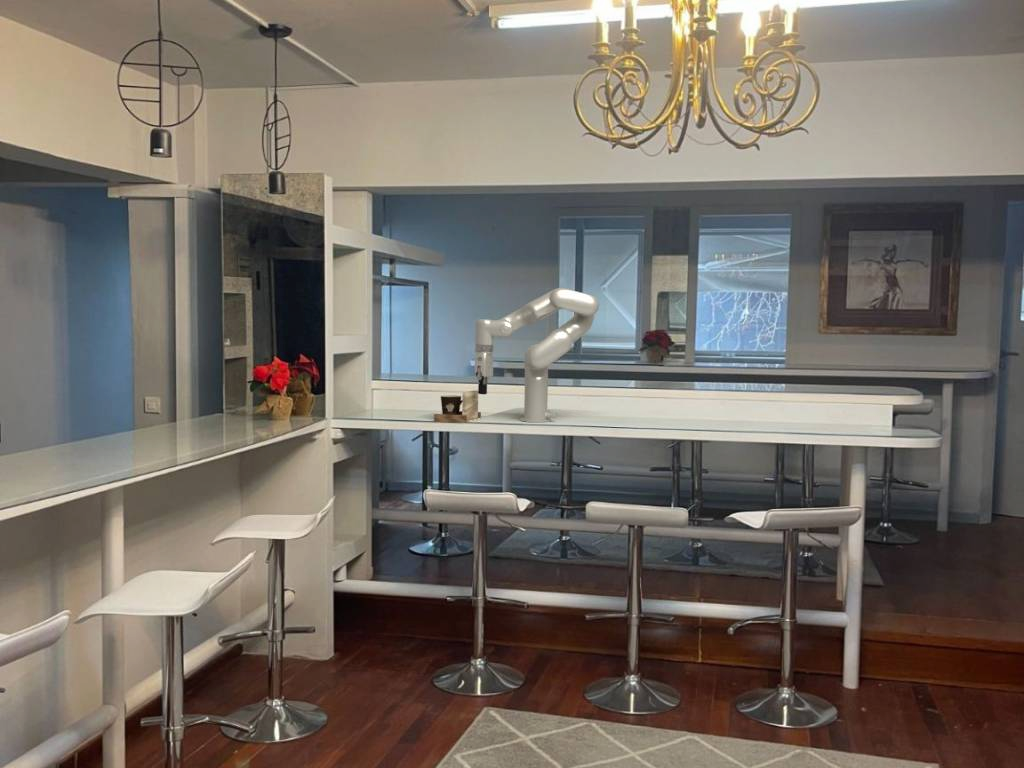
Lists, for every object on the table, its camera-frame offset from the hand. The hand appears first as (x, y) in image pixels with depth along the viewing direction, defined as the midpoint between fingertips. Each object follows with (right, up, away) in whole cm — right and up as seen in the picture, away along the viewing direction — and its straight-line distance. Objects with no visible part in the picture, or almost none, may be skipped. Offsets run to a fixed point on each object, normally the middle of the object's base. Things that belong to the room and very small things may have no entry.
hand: (482, 394), depth 393 cm
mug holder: (-10, -11, +5) cm, 16 cm away
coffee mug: (-12, -11, +5) cm, 17 cm away
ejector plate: (-5, -11, +3) cm, 13 cm away
